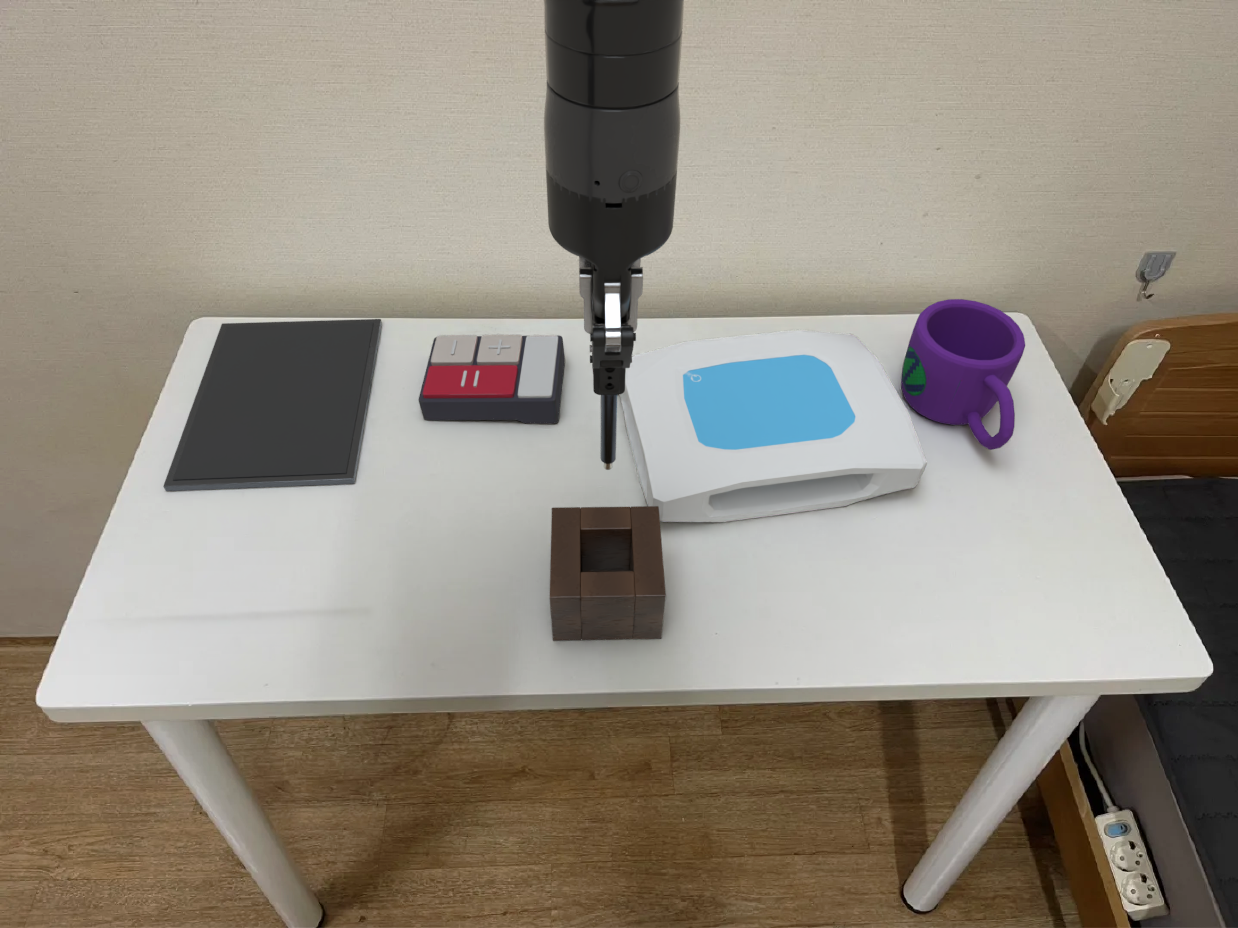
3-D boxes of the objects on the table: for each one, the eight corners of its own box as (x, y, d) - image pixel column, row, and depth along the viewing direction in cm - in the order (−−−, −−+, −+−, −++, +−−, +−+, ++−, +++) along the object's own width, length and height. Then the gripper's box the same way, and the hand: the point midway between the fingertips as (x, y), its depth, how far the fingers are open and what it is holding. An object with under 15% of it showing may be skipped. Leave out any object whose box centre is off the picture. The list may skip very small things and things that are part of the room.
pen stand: (552, 641, 80) (549, 597, 74) (554, 552, 86) (551, 507, 81) (661, 639, 80) (665, 595, 75) (655, 551, 87) (658, 505, 81)
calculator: (432, 330, 102) (562, 329, 102) (439, 358, 106) (565, 357, 105) (415, 396, 95) (555, 395, 95) (423, 424, 98) (558, 424, 98)
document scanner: (917, 497, 92) (934, 456, 87) (652, 532, 88) (655, 492, 83) (846, 363, 106) (858, 321, 101) (615, 388, 102) (616, 347, 97)
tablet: (354, 484, 92) (352, 478, 91) (165, 491, 90) (162, 485, 90) (382, 323, 109) (380, 317, 108) (223, 328, 108) (221, 322, 107)
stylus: (604, 474, 69) (606, 335, 59) (597, 464, 70) (598, 325, 60) (618, 469, 70) (622, 330, 59) (611, 459, 70) (613, 320, 60)
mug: (878, 370, 105) (900, 302, 97) (968, 359, 106) (995, 291, 99) (941, 480, 93) (971, 412, 86) (1040, 466, 95) (1077, 398, 88)
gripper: (547, 101, 55) (556, 323, 68) (542, 225, 46) (554, 454, 59) (668, 101, 55) (655, 322, 68) (688, 224, 46) (668, 452, 59)
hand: (608, 382), depth 63 cm, fingers closed on stylus, 1 cm apart
